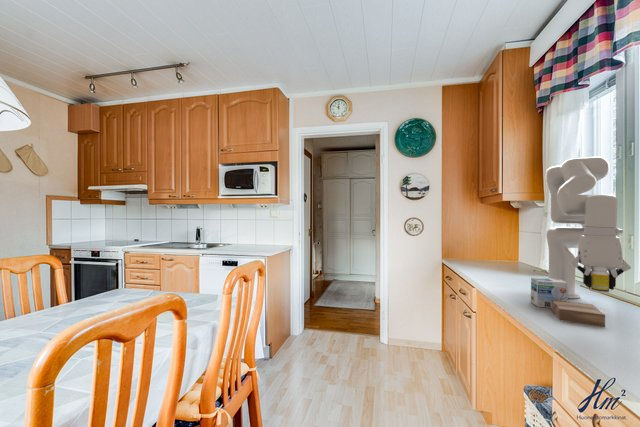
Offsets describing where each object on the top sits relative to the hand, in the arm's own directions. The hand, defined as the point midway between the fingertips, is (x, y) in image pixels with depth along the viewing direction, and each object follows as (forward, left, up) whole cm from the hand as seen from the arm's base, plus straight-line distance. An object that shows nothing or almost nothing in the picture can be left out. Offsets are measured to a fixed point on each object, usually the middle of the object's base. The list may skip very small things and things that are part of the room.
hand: (598, 287), depth 94 cm
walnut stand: (-11, -3, -14) cm, 18 cm away
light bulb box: (-23, -9, -14) cm, 28 cm away
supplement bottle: (0, 0, -2) cm, 2 cm away
